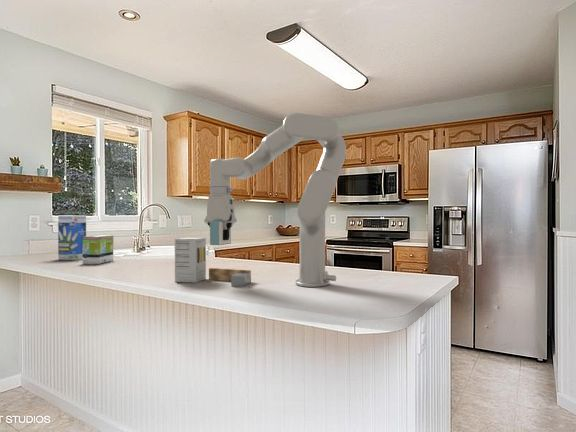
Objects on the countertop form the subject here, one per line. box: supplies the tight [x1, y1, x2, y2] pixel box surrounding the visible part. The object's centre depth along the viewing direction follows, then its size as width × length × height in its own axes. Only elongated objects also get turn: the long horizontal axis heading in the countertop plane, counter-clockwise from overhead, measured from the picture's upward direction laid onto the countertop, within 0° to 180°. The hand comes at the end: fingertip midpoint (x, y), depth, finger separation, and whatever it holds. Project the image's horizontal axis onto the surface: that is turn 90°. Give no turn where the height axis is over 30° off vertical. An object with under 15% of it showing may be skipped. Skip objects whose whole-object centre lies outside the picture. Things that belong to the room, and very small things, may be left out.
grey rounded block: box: [230, 273, 251, 288], centre depth 142 cm, size 5×8×4 cm, turn 172°
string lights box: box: [57, 214, 87, 261], centre depth 225 cm, size 13×8×26 cm, turn 80°
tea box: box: [81, 234, 114, 265], centre depth 210 cm, size 15×10×15 cm
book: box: [209, 221, 232, 246], centre depth 146 cm, size 4×8×9 cm, turn 157°
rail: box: [208, 267, 252, 283], centre depth 150 cm, size 18×1×4 cm, turn 67°
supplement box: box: [174, 237, 207, 284], centre depth 151 cm, size 10×9×17 cm
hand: (220, 239), depth 146 cm, fingers closed on book, 4 cm apart
